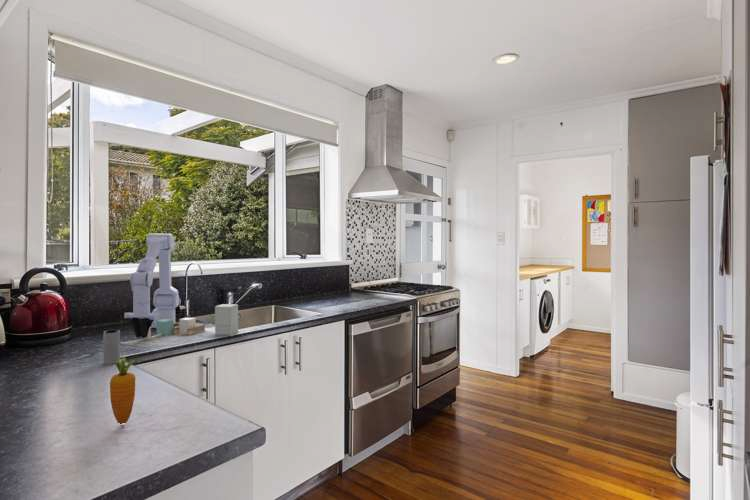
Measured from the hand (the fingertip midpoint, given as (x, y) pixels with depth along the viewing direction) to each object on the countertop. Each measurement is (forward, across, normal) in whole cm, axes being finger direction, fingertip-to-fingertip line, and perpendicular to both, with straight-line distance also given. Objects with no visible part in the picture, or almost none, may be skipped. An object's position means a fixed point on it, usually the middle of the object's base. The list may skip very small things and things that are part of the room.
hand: (141, 337), depth 164 cm
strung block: (+2, 0, +8) cm, 8 cm away
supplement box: (+2, +23, +22) cm, 32 cm away
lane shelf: (+2, +4, +18) cm, 18 cm away
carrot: (+2, +54, -62) cm, 82 cm away
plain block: (+1, +7, +18) cm, 19 cm away
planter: (+2, +12, -25) cm, 28 cm away
